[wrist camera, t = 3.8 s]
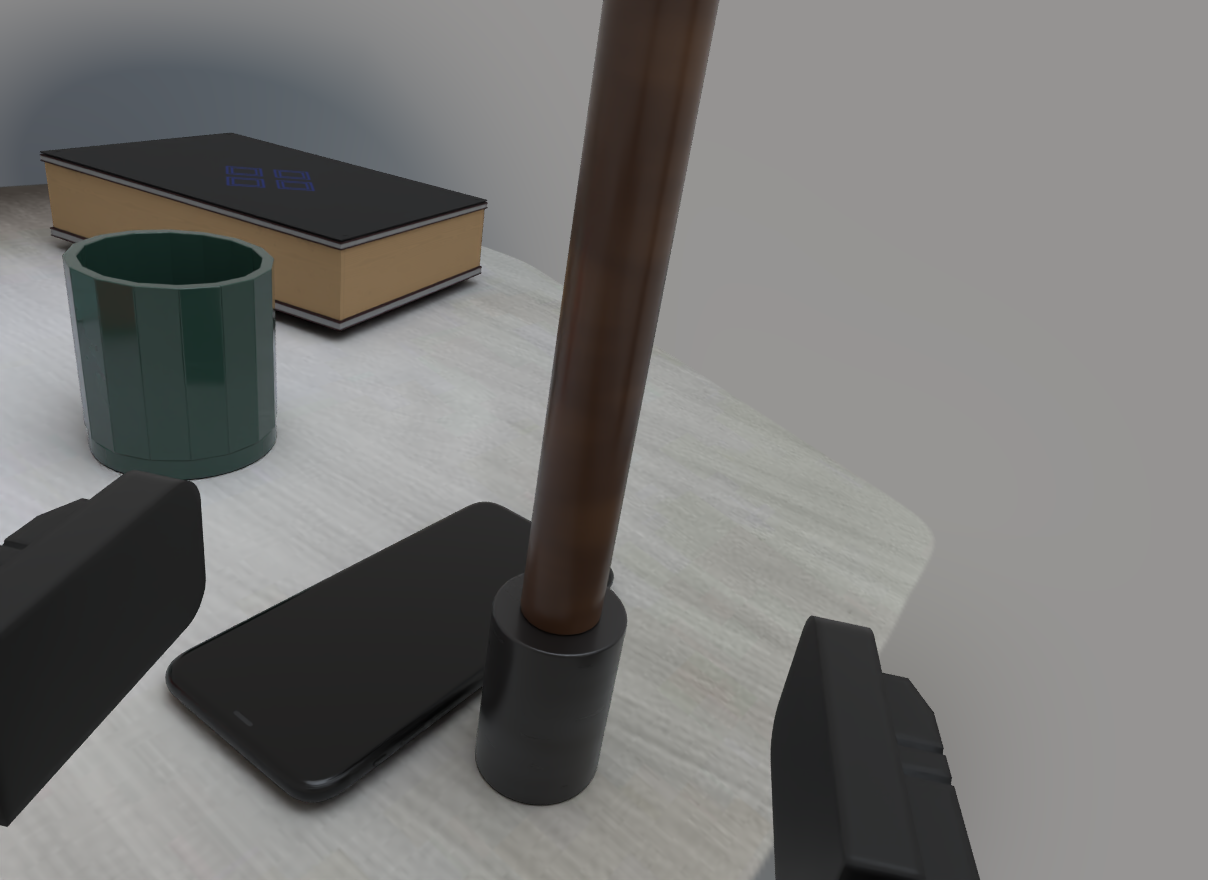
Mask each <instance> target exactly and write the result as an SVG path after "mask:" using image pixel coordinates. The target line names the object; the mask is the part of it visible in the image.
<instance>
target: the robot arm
mask: <svg viewBox="0 0 1208 880" xmlns="http://www.w3.org/2000/svg"><path fill="white" fill-rule="evenodd" d="M205 582H206V574H205V559H204V543H203V528H202V513H201V499H200V493H199V490H198V488H197V486H196V485H195V484H194V483H193V482H190V481H186V480H181V479H176V478H171V477H167V476H162V475H157V474H153V473H148V472H143V471H139V470H131V471H129V472H126V473H125V474H123V475H122V476H120V477H119V478H118V479H116V480H115V481H114V482H112V483H111V484H110V485H108V486H107V487H106V488H104V489H103V490H102V491H100V492H99V493H98V494H96V495H95V496H94V497H92V498H91V499H90V500H88V499H84V498H82V499H79V500H77V501H74V502H72V503H69V504H67V505H64V506H61V507H59V508H56V509H54V510H51V511H49V512H46V513H44V514H41V515H39V516H37V517H36V518H34V519H33V520H31V521H30V522H29V523H27V524H26V525H24V526H23V527H22V528H20V529H19V530H17V531H16V532H15V533H13V534H12V535H10V536H9V537H8V538H6V539H5V540H4V544H3V545H0V825H2V826H6V827H8V826H9V825H10V824H11V822H12V821H13V820H14V819H15V818H16V817H17V816H18V815H19V814H20V812H21V811H22V810H23V809H24V808H25V807H26V806H27V805H28V804H29V802H30V801H31V800H32V799H33V798H34V797H35V796H36V795H37V794H38V792H39V791H40V790H41V789H42V788H43V787H44V786H45V785H46V784H47V782H48V781H49V780H50V779H51V778H52V777H53V776H54V775H55V774H56V772H57V771H58V770H59V769H60V768H61V767H62V766H63V765H64V764H65V762H66V761H67V760H68V759H69V758H70V757H71V756H72V755H73V754H74V752H75V751H76V750H77V749H78V748H79V747H80V746H81V745H82V744H83V742H84V741H85V740H86V739H87V738H88V737H89V736H90V735H91V734H92V732H93V731H94V730H95V729H96V728H97V727H98V726H99V725H100V724H101V722H102V721H103V720H104V719H105V718H106V717H107V716H108V715H109V714H110V712H111V711H112V710H113V709H114V708H115V707H116V706H117V705H118V704H119V702H120V701H121V700H122V699H123V698H124V697H125V696H126V695H127V694H128V692H129V691H130V690H131V689H132V688H133V687H134V686H135V685H136V684H137V682H138V681H139V680H140V679H141V678H142V677H143V676H144V675H145V674H146V672H147V671H148V670H149V669H150V668H151V667H152V666H153V665H154V664H155V662H156V661H157V660H158V659H159V658H160V657H161V656H162V655H163V654H164V652H165V651H166V650H167V649H168V648H169V647H170V646H171V645H172V644H173V642H174V641H175V640H176V639H177V638H178V637H179V636H180V635H181V634H182V632H183V631H184V630H185V629H186V628H187V627H188V626H189V624H190V623H191V622H192V620H193V619H194V617H195V615H196V613H197V611H198V609H199V607H200V604H201V601H202V598H203V594H204V590H205ZM943 749H944V748H943V744H942V741H941V737H940V734H939V730H938V726H937V723H936V719H935V715H934V712H933V711H932V710H931V708H930V707H929V706H928V704H927V703H926V702H925V700H924V699H923V698H922V696H921V695H920V694H919V692H918V691H917V689H916V688H915V687H914V685H913V684H912V683H911V681H910V680H909V679H908V678H904V677H900V676H895V675H890V674H885V673H882V670H881V665H880V661H879V656H878V651H877V647H876V642H875V637H874V634H873V631H872V630H871V629H870V628H867V627H863V626H858V625H853V624H848V623H844V622H839V621H834V620H830V619H825V618H820V617H816V616H810V617H809V618H808V620H807V621H806V623H805V626H804V628H803V631H802V634H801V637H800V640H799V643H798V646H797V649H796V652H795V655H794V658H793V661H792V664H791V667H790V670H789V673H788V676H787V679H786V682H785V685H784V688H783V691H782V694H781V697H780V700H779V704H778V707H777V711H776V715H775V719H774V725H773V731H772V739H771V780H772V805H773V829H774V854H775V876H776V877H775V878H776V880H980V878H979V874H978V871H977V868H976V864H975V860H974V857H973V853H972V849H971V846H970V842H969V838H968V835H967V831H966V828H965V824H964V820H963V817H962V813H961V809H960V806H959V803H958V799H957V795H956V791H955V788H954V786H952V785H951V779H952V777H951V773H950V770H949V766H948V762H947V759H946V756H945V755H943Z"/></svg>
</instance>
